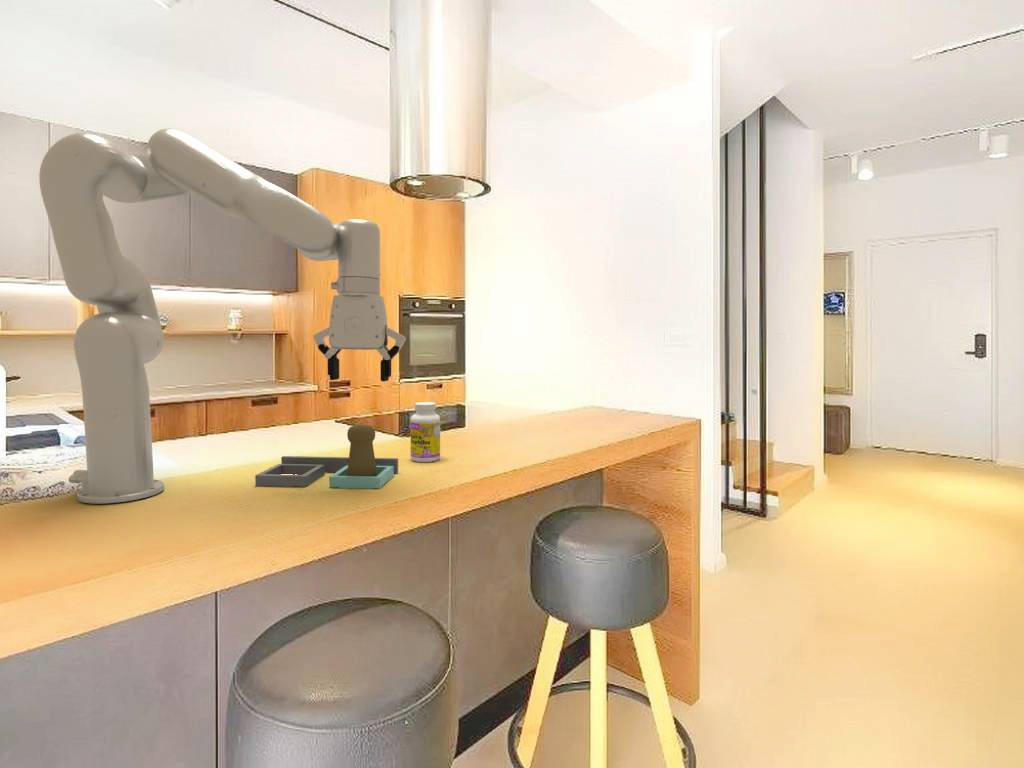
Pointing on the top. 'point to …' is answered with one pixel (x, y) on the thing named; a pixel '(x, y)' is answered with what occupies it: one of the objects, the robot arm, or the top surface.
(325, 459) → the panel
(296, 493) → the top surface
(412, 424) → the supplement bottle
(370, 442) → the cork
